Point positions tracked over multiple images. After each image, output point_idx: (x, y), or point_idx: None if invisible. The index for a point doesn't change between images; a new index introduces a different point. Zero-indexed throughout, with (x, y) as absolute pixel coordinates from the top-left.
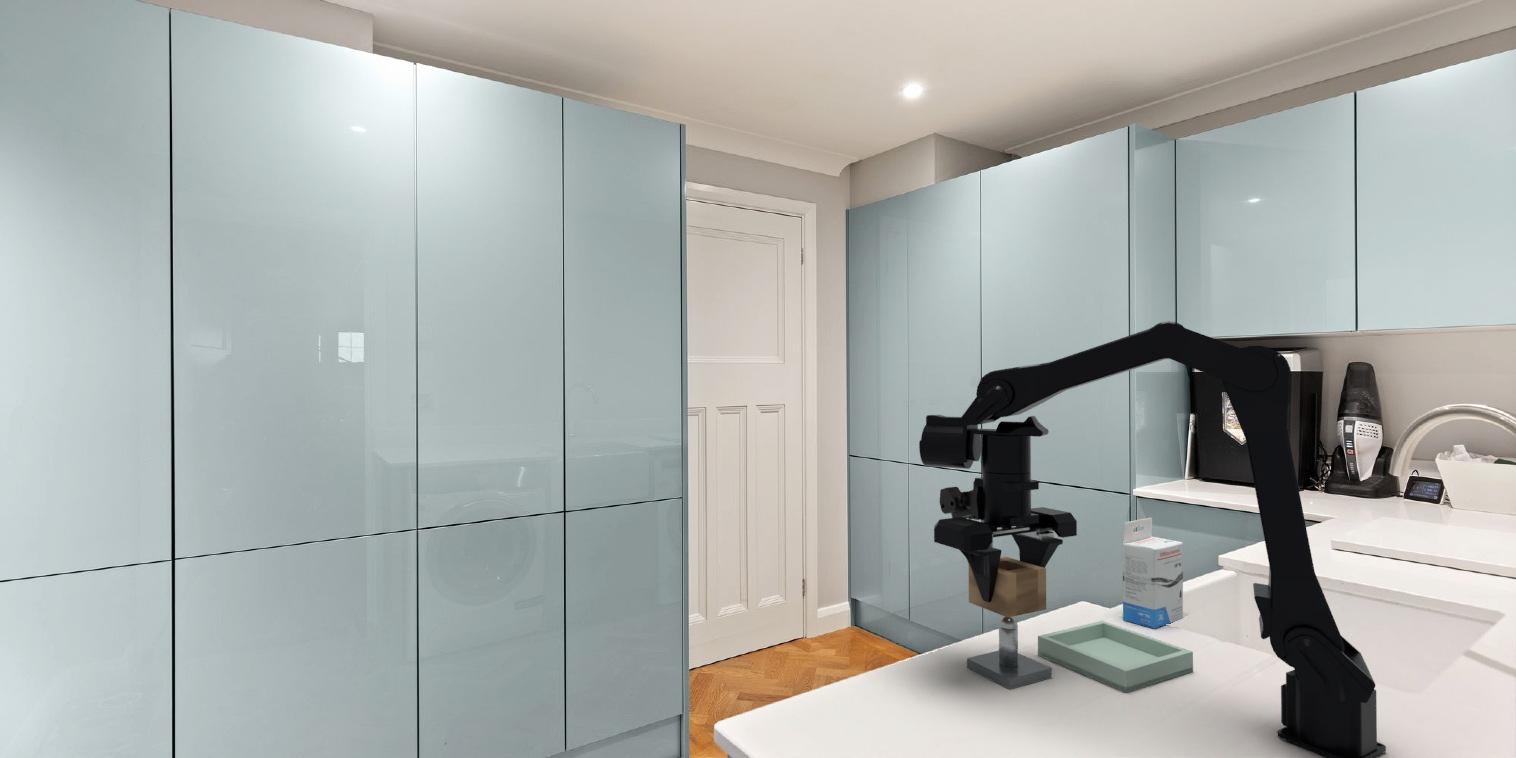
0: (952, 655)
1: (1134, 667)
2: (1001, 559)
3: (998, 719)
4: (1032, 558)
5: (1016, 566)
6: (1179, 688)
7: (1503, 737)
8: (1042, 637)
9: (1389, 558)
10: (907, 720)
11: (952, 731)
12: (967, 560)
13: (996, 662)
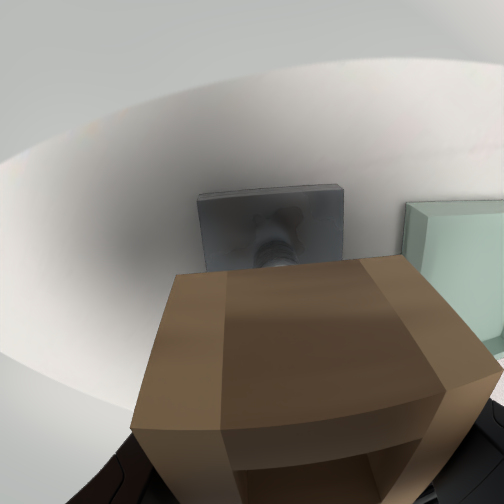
0: (215, 114)
1: None
2: (424, 421)
3: (135, 369)
4: (456, 485)
5: (395, 462)
6: None
7: None
8: (427, 229)
9: None
10: (19, 320)
11: (64, 363)
12: (68, 502)
13: (249, 250)
